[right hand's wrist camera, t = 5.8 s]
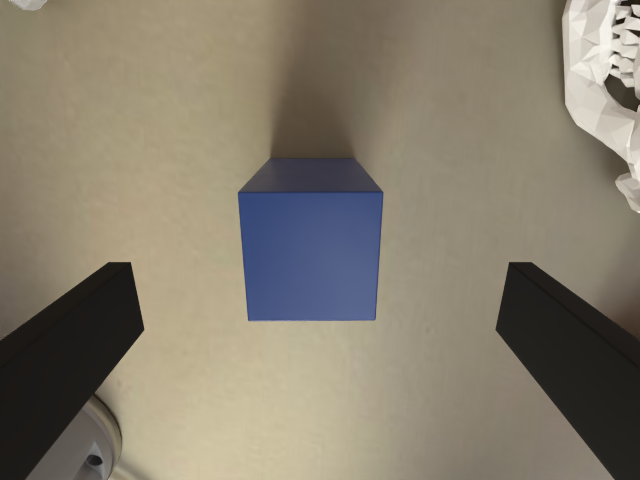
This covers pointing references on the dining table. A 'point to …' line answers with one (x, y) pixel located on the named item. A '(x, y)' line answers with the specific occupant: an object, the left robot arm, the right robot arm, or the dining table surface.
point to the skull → (592, 70)
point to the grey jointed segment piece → (29, 4)
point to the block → (311, 240)
